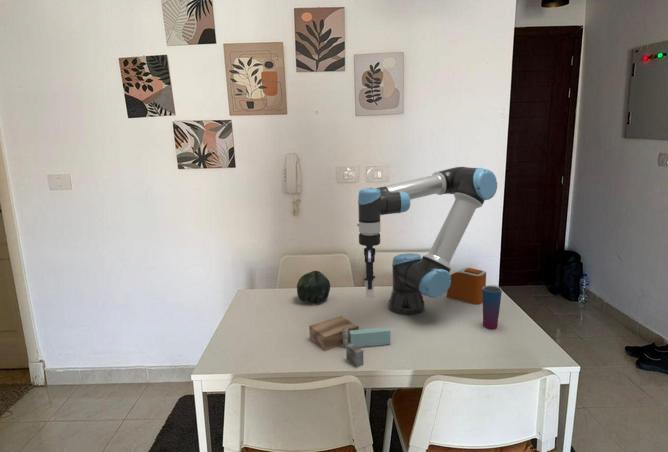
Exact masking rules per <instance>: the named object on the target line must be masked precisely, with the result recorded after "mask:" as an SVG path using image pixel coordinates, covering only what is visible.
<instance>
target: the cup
mask: <svg viewBox="0 0 668 452" xmlns="http://www.w3.org/2000/svg"><path fill="white" fill-rule="evenodd" d="M502 292H503V288H501V287H500V286H496V285H486V286H484V287H483V288H482V294H483V302H482V324H483V328H485V329H487V330H496V329H498V325H499V315H500V307H501V301H502V294H503V293H502Z"/></svg>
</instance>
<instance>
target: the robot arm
mask: <svg viewBox="0 0 668 452" xmlns="http://www.w3.org/2000/svg"><path fill="white" fill-rule="evenodd" d="M497 190H498V181H497V176H496V175H495V172H493V171H491V169H487V168H482V167H468V166H467V167H466V166H455V167H451V168H447V169H444V170H440V171H435V172H433V173H432V174H431V175H429V176H425V177H419V178H416V179H415V178H414V179H412V180H406V181H403V182H398V183H394V184H388V185H384V186H380V187H376V188H374V187H366V188H362V189H359V191H358V197H357V199H358V201H357V204H358V223H357V224H356V227H358V232H359V234H358V244H359V245H360V246H365V247H364V248H363V255H364V263H365V268H366V269H365V272H366V273H365V274H366V275H365V278H364V279H363V280H364V281H365V297H366V298H374V297H375V295H374V294H375V293H374V292H375V291H374V287H375V285H374V284H375V283H374V281H375V280H374V279H376V275H374V274H375V273H374V263H375V257H376V246H379V245H380V244H381V216H384V215H392V214H403V213H405V212H408V211H409V209H410V208H411V200H414V199H420V198H424V197H427V196H428V197H429V196H431V195H437V196H441V195H453V197H454V199H455V200H454V202H453V204H452V205H451V208H450V209H449V211H448V213H447V216H446V218H445V220H444V221H443V224H442V226H441V228H440V230H439V232H438V233H437V236H436V237H435V240H434V242H433V244H432V246H431V248H430V250H429V252H428V253H427V254H423V256H421V254H419V253H402V254H401V253H400V254H396V255H395V256H393V258H392V264H391V267H392V290H391V294H390V298H389V300H388V309H389V310H390V312H391V311H392V312H393V313H396V314H398V315H406V316H407V315H417V314H421V313H422V312H424V311H425V307H426V303H425V300H424V296H425V297H429V298H432V299H435V298H436V299H437V298H440V297H441V296H443V295H446V294H447V290H448V289H449V287H450V285H451V280H450V279H451V276H450V275H451V274H450V272H451V270H452V269H451V265H450V263H451V260H452V259H453V257H454V255H455V252H456V251H457V248H458V247H459V245H460V242H461V240H462V239H463V237H464V234H465V233H466V230H467V228H468V226H469V225H470V222H471V220H472V219H473V216H474V213H475V212H476V210H477V209H479V208H481V207H482V206H483V205H484V204H485V201H487V200H488V201H489V200H491V199H493V198H494V197H495V195H496V193H497ZM374 246H375V247H374Z"/></svg>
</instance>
